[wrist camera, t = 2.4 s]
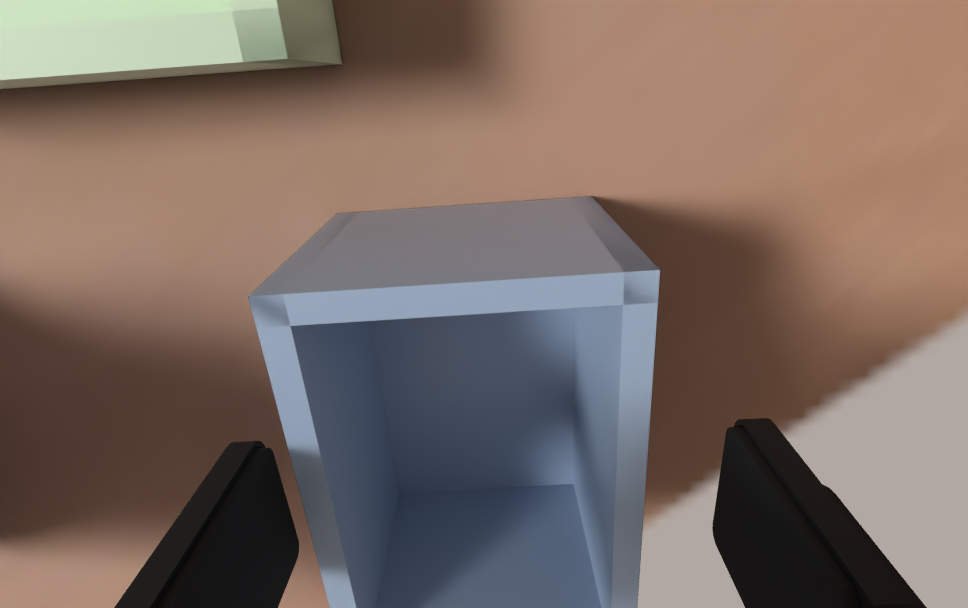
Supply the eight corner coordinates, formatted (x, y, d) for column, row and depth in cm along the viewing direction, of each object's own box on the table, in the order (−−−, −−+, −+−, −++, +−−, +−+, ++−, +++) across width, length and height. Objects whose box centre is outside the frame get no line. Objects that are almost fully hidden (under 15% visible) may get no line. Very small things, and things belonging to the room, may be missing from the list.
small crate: (587, 484, 18) (633, 659, 13) (387, 495, 18) (346, 673, 13) (591, 196, 14) (660, 269, 9) (336, 213, 15) (248, 296, 9)
